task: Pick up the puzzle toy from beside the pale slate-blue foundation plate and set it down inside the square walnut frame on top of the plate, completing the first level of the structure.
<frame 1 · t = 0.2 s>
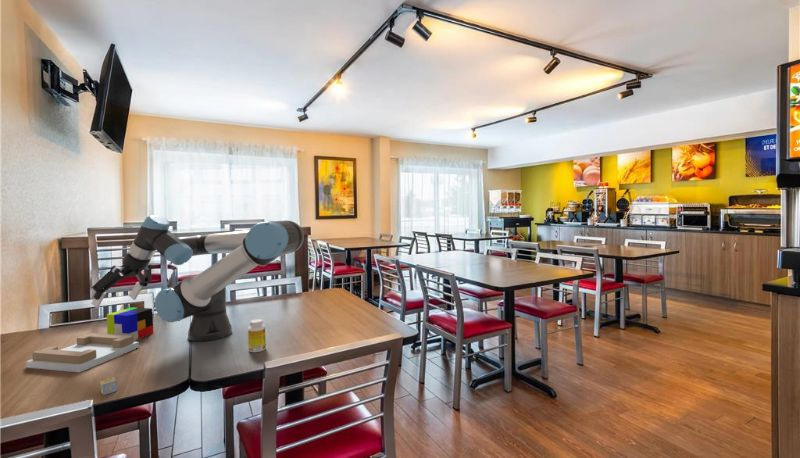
hand: (114, 301, 132), 15 cm above the table, tool tilted 35°, fingers open, 13 cm apart
puzzle toy: (131, 337, 139), on the table
alphabet block: (108, 392, 97), on the table
supplement bottle: (257, 350, 125), on the table
foundation plate: (86, 356, 120), on the table
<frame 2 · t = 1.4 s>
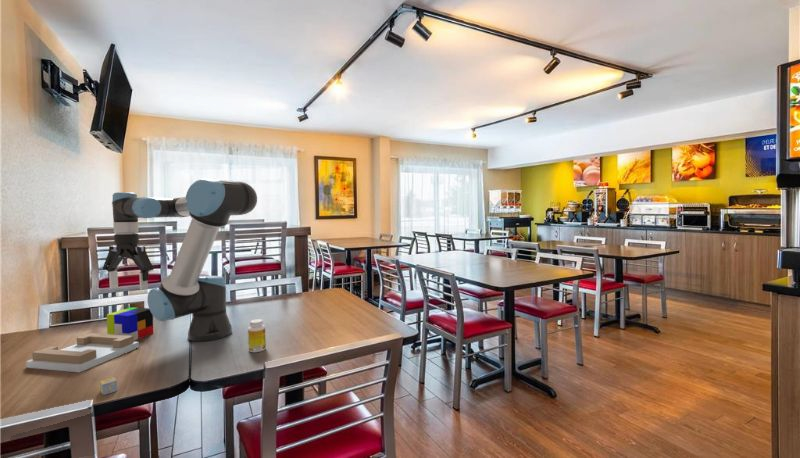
hand: (128, 288, 138), 19 cm above the table, tool pointing down, fingers open, 13 cm apart
nothing on the table moved.
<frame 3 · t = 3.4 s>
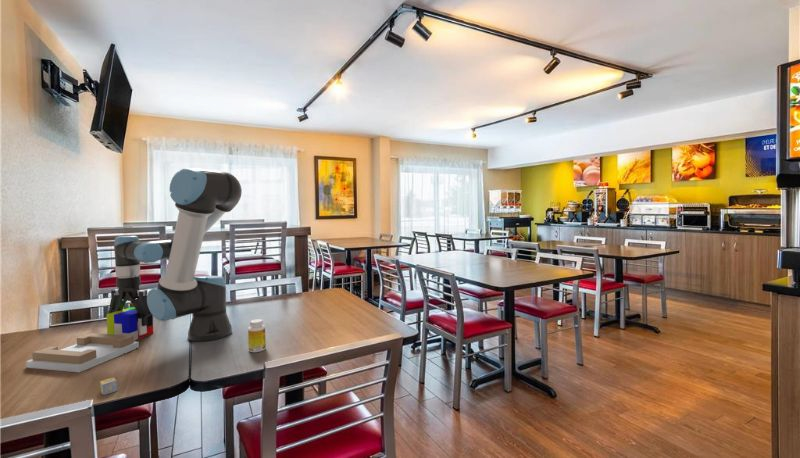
hand: (131, 333, 139), 1 cm above the table, tool pointing down, fingers closed on puzzle toy, 10 cm apart
puzzle toy: (131, 337, 139), on the table, touching gripper
everything else where it was.
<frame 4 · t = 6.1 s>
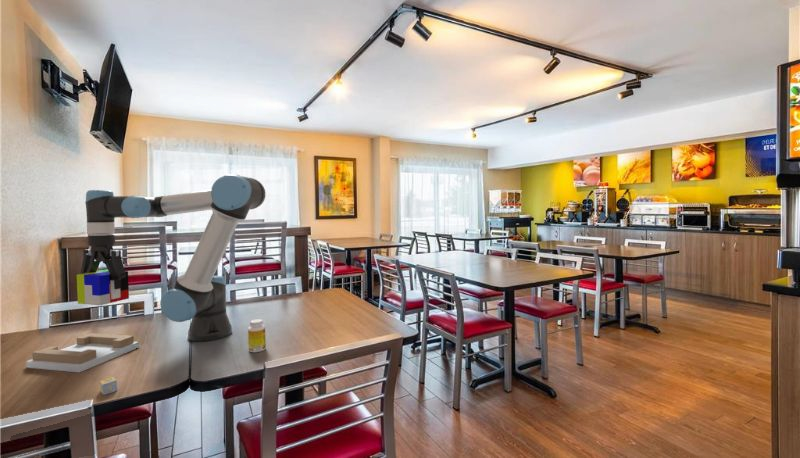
hand: (103, 297, 127), 18 cm above the table, tool pointing down, fingers closed on puzzle toy, 10 cm apart
puzzle toy: (104, 301, 128), point 16 cm above the table, touching gripper
everything else where it was.
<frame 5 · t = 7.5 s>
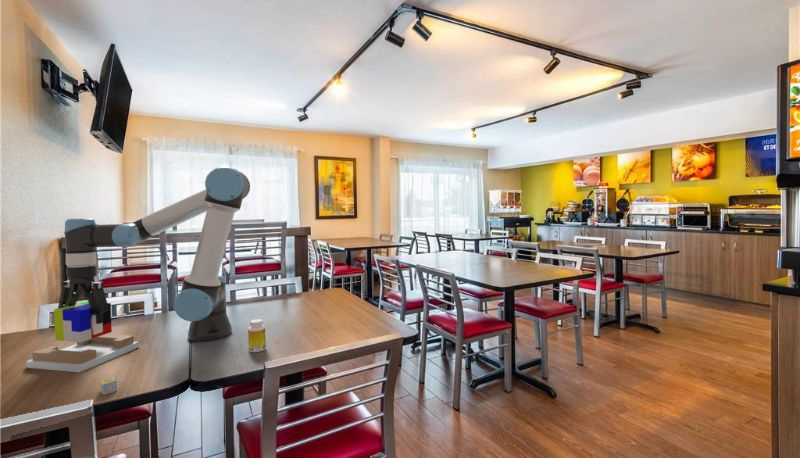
hand: (84, 332, 120), 8 cm above the table, tool pointing down, fingers closed on puzzle toy, 10 cm apart
puzzle toy: (84, 336, 120), point 7 cm above the table, touching gripper
everything else where it was.
when the fingers open (4 cm above the table, at t = 8.8 s): puzzle toy stays where it is, resting on foundation plate.
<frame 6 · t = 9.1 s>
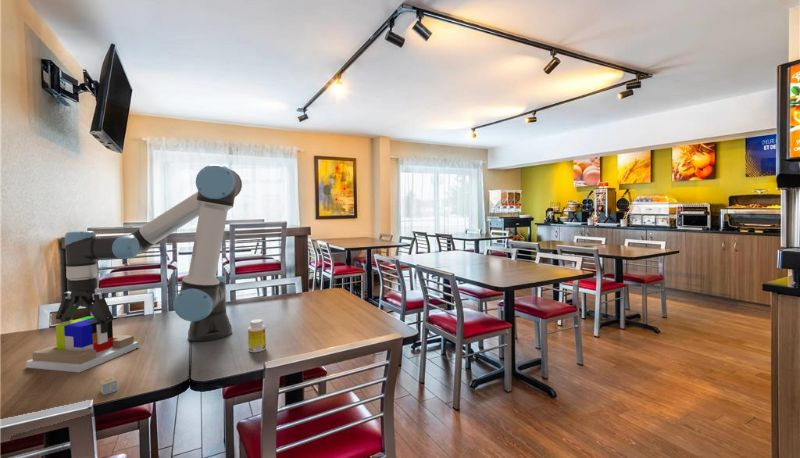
hand: (85, 341, 120), 5 cm above the table, tool pointing down, fingers open, 13 cm apart
puzzle toy: (86, 351, 120), point 2 cm above the table, touching foundation plate
everything else where it was.
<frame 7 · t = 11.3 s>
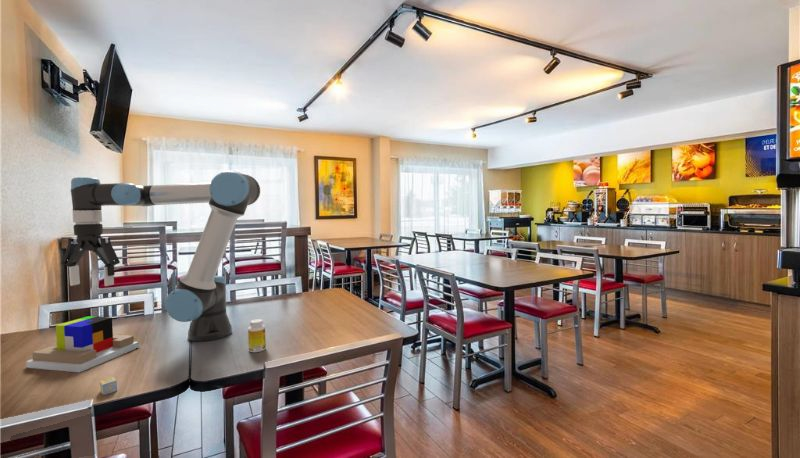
hand: (92, 285, 124), 23 cm above the table, tool pointing down, fingers open, 13 cm apart
nothing on the table moved.
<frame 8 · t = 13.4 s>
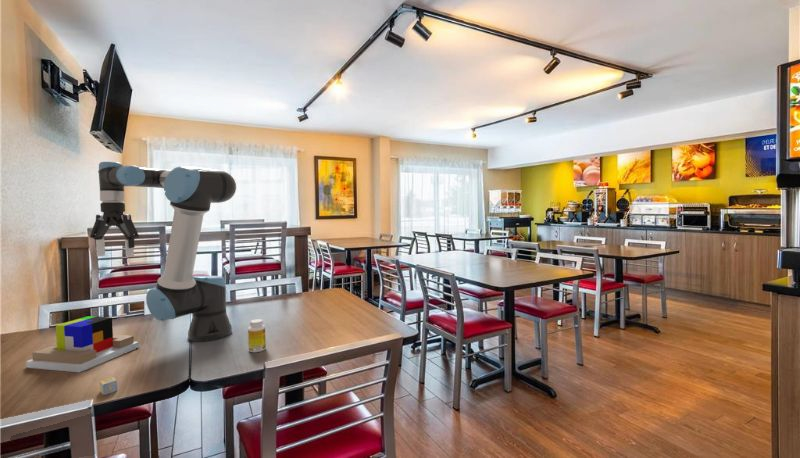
hand: (115, 256, 142), 31 cm above the table, tool pointing down, fingers open, 13 cm apart
nothing on the table moved.
at the end: puzzle toy 0.0 cm off-centre on the foundation plate, point 1.8 cm above the foundation plate's base; puzzle toy tilted 0°; the gripper is holding nothing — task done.
